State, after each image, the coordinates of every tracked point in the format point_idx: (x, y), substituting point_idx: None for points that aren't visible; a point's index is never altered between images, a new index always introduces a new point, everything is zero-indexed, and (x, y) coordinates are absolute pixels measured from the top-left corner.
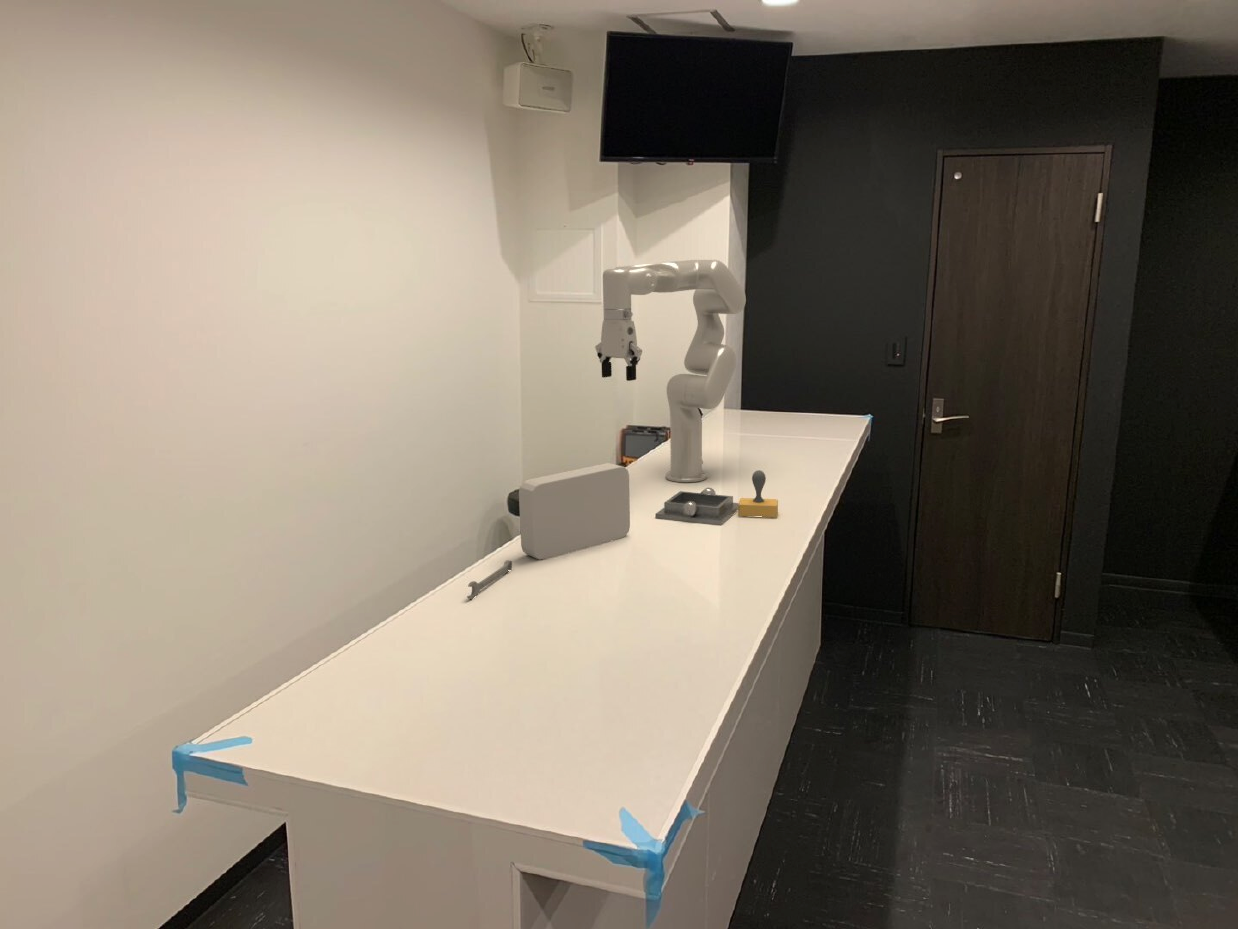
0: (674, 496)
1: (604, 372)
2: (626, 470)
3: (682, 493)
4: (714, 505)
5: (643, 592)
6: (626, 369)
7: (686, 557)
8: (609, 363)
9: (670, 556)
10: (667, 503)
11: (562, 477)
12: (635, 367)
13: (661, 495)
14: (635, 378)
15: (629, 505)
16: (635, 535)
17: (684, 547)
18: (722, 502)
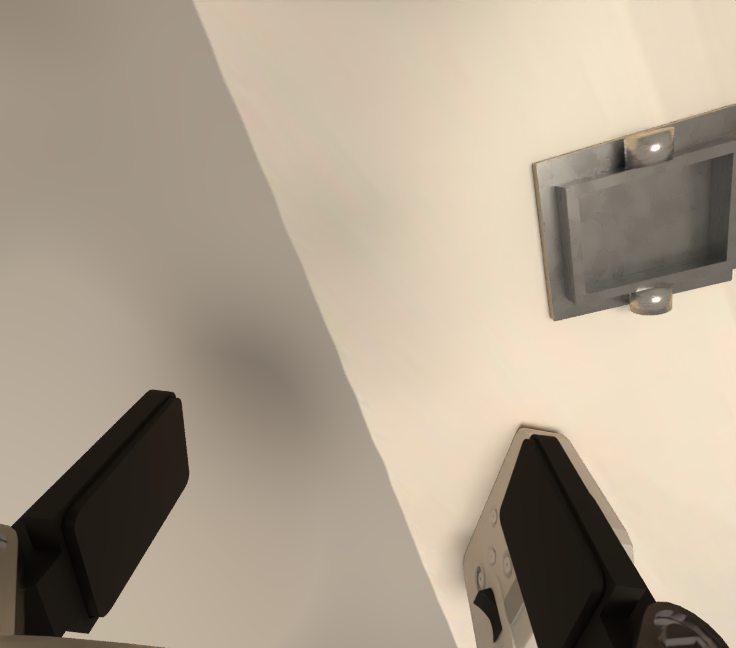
0: (575, 244)
1: (165, 510)
2: (631, 550)
3: (576, 195)
4: (670, 173)
5: (698, 574)
6: (543, 635)
7: (711, 459)
8: (86, 538)
9: (681, 467)
10: (584, 303)
11: None
12: (647, 595)
13: (455, 138)
14: (553, 446)
15: (588, 471)
16: (568, 420)
17: (689, 424)
18: (732, 216)
